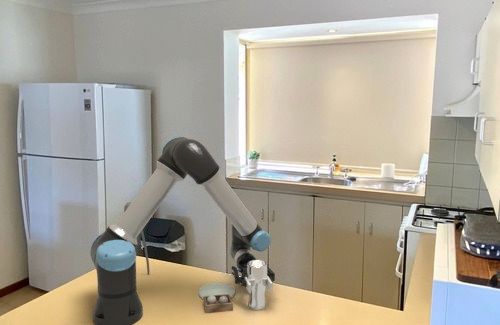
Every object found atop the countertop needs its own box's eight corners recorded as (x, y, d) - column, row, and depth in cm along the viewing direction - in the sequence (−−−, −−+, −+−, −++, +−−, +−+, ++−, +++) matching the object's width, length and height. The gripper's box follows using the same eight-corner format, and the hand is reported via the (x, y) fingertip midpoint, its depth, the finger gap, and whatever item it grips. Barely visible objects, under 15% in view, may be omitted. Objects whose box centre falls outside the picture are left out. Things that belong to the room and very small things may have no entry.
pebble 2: (219, 308, 136) (219, 298, 135) (218, 303, 139) (218, 294, 138) (228, 307, 136) (228, 298, 136) (227, 302, 139) (227, 293, 139)
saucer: (200, 303, 140) (200, 300, 140) (197, 287, 153) (197, 284, 152) (237, 299, 143) (237, 296, 143) (231, 284, 155) (231, 281, 155)
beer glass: (249, 312, 134) (249, 268, 132) (244, 302, 141) (244, 260, 139) (269, 309, 136) (270, 266, 134) (263, 299, 143) (264, 258, 141)
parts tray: (205, 313, 133) (205, 305, 133) (203, 303, 140) (203, 296, 140) (232, 310, 135) (232, 303, 135) (229, 300, 142) (229, 293, 142)
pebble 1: (207, 307, 136) (207, 298, 135) (206, 303, 139) (206, 294, 138) (217, 306, 136) (217, 297, 136) (215, 302, 140) (215, 293, 139)
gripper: (270, 269, 157) (289, 296, 135) (220, 273, 153) (231, 302, 131) (271, 251, 156) (289, 274, 134) (220, 254, 152) (231, 279, 130)
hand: (260, 288), depth 133 cm, fingers closed on beer glass, 6 cm apart
